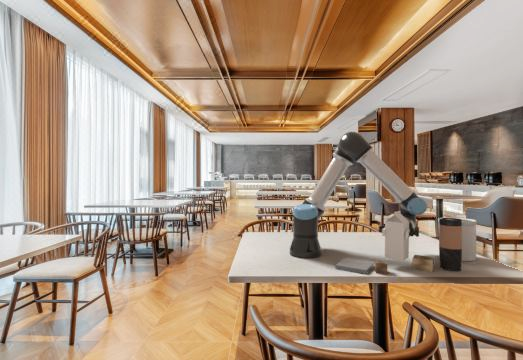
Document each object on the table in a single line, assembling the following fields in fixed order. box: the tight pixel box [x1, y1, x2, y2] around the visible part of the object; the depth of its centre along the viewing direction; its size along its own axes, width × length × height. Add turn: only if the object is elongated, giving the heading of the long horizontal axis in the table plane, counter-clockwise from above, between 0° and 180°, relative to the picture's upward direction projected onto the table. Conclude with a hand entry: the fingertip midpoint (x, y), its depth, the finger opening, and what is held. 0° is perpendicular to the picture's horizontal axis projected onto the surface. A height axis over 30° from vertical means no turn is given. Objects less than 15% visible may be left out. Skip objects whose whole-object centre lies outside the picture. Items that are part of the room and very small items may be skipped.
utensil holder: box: [437, 217, 478, 262], centre depth 132 cm, size 15×15×18 cm
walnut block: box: [374, 259, 388, 275], centre depth 111 cm, size 4×4×4 cm
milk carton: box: [384, 210, 410, 262], centre depth 117 cm, size 7×7×19 cm
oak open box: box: [411, 254, 435, 273], centre depth 116 cm, size 7×7×4 cm
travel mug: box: [438, 217, 463, 272], centre depth 115 cm, size 8×8×20 cm
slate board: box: [334, 258, 375, 275], centre depth 117 cm, size 12×12×2 cm
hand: (394, 233), depth 113 cm, fingers closed on milk carton, 8 cm apart
